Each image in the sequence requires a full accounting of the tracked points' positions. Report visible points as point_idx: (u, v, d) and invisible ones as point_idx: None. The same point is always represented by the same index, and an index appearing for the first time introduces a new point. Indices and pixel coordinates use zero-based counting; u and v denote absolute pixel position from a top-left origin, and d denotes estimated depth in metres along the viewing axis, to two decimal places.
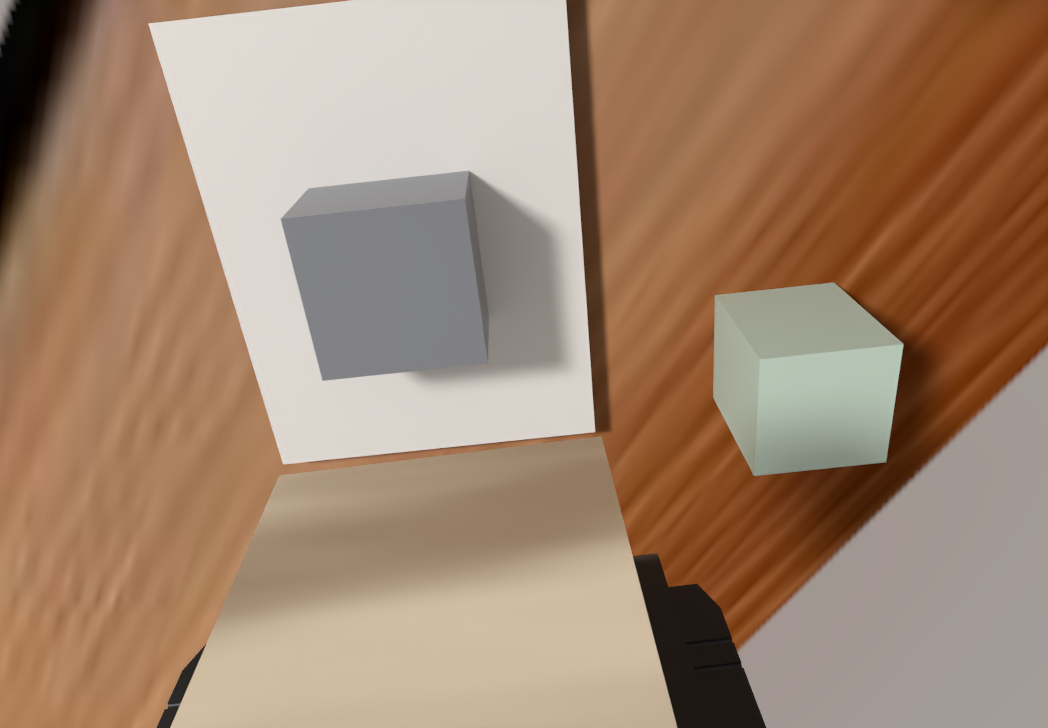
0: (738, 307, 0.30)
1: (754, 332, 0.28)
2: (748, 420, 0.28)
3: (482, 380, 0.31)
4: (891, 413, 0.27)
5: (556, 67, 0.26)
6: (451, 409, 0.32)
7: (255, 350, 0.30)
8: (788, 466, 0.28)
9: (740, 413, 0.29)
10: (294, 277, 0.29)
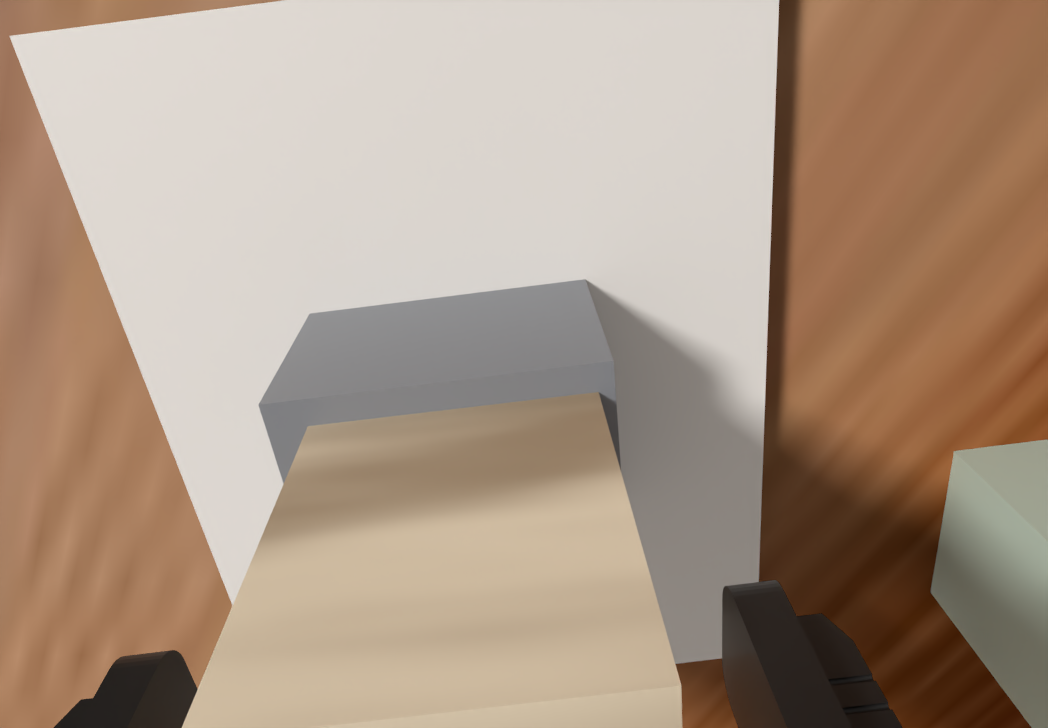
0: (1010, 480, 0.18)
1: None
2: None
3: None
4: None
5: (750, 101, 0.14)
6: None
7: (226, 559, 0.19)
8: None
9: (1029, 662, 0.18)
10: None
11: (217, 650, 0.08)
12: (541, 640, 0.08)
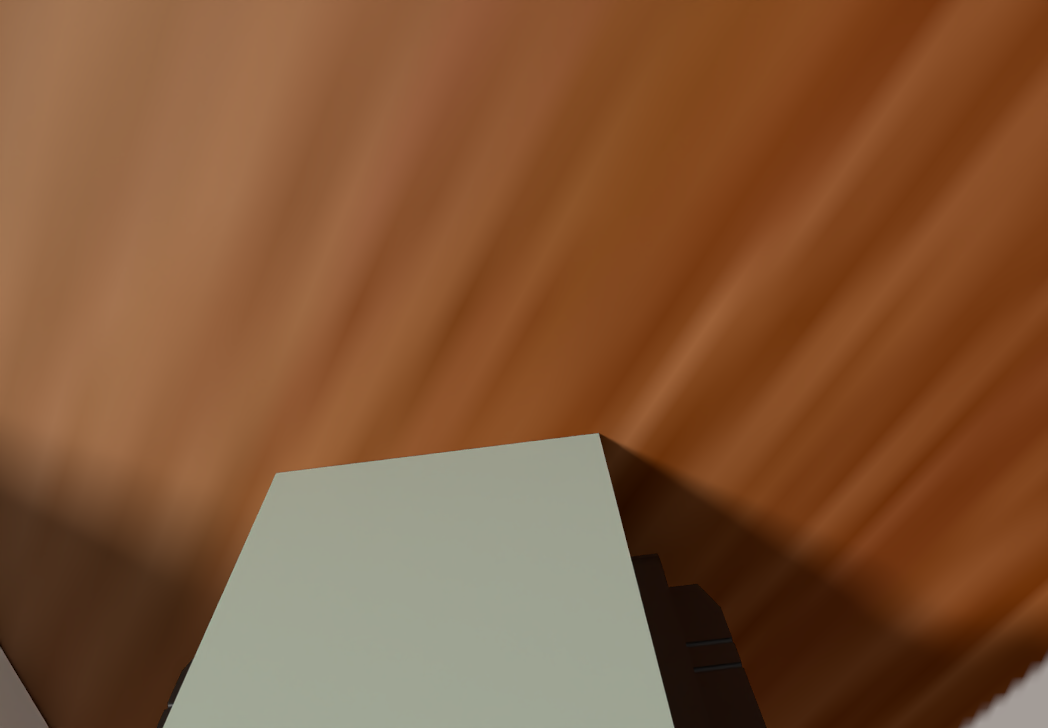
0: (288, 531, 0.10)
1: (224, 680, 0.08)
2: None
3: None
4: None
5: None
6: None
7: None
8: None
9: None
10: None
11: None
12: None
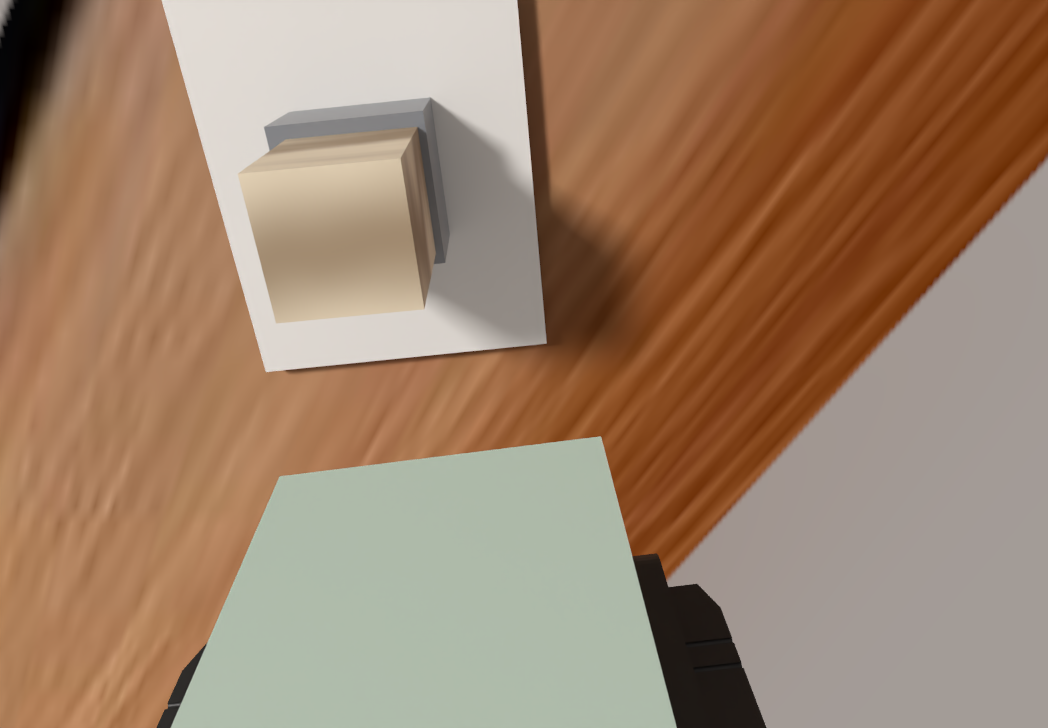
0: (293, 535, 0.10)
1: (231, 683, 0.08)
2: None
3: (444, 293, 0.35)
4: None
5: (505, 4, 0.30)
6: (417, 320, 0.36)
7: (241, 262, 0.34)
8: None
9: None
10: None
11: (249, 167, 0.24)
12: (361, 157, 0.23)
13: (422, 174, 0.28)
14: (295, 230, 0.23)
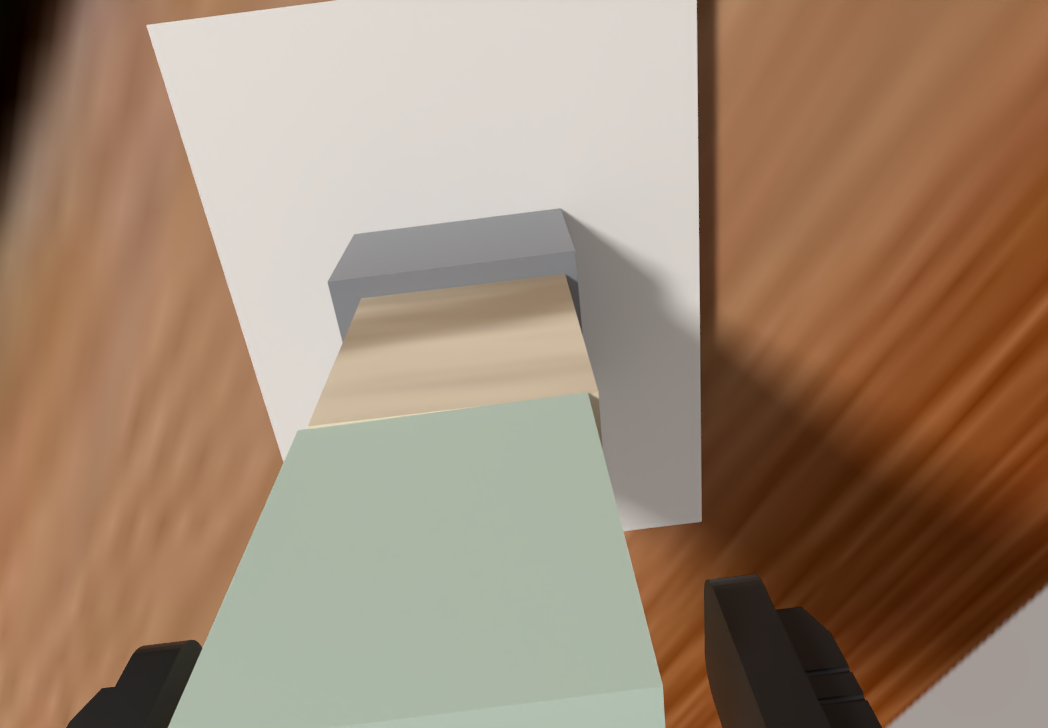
0: (311, 476, 0.11)
1: (262, 592, 0.09)
2: None
3: None
4: None
5: (679, 73, 0.20)
6: None
7: (283, 434, 0.24)
8: None
9: None
10: (334, 345, 0.23)
11: (322, 395, 0.14)
12: (519, 380, 0.13)
13: None
14: None
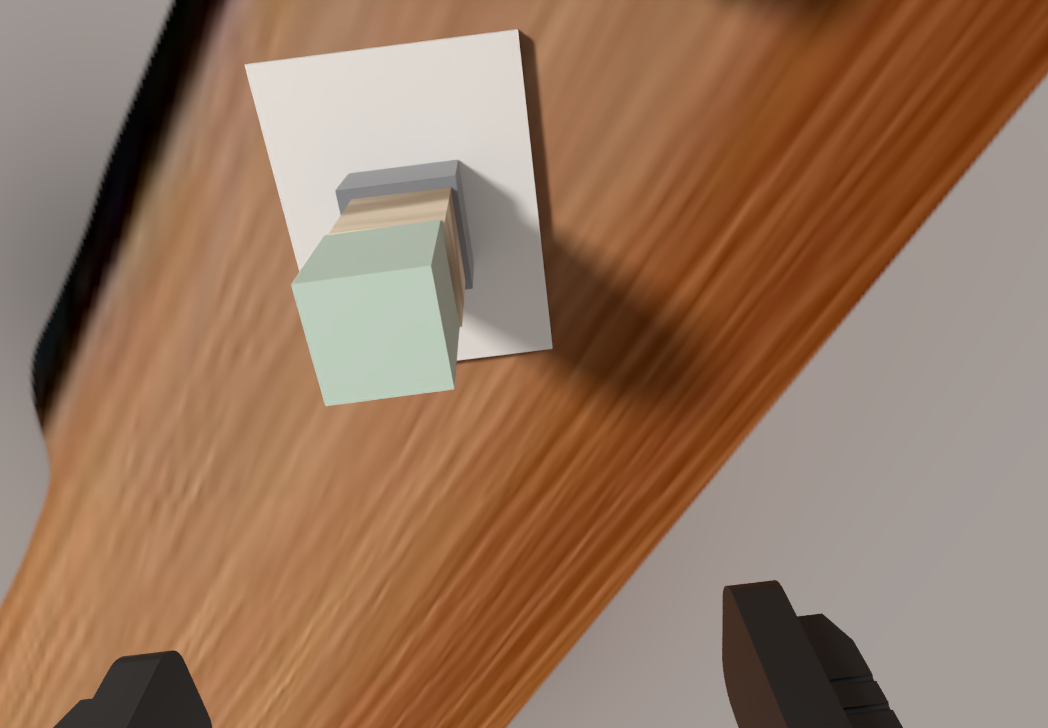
0: (330, 244, 0.30)
1: (316, 263, 0.28)
2: None
3: (470, 310, 0.44)
4: (442, 338, 0.27)
5: (515, 88, 0.39)
6: None
7: None
8: (356, 395, 0.28)
9: None
10: None
11: (333, 227, 0.33)
12: (415, 218, 0.32)
13: (455, 223, 0.37)
14: None
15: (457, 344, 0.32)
